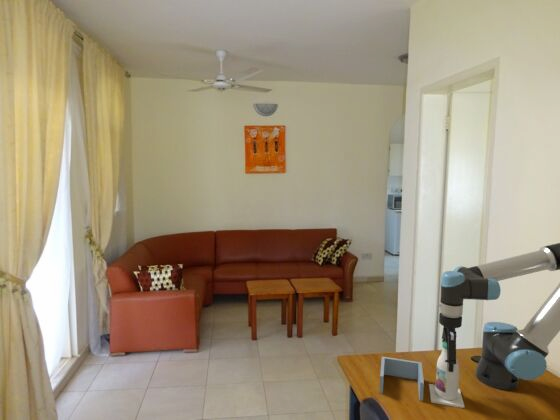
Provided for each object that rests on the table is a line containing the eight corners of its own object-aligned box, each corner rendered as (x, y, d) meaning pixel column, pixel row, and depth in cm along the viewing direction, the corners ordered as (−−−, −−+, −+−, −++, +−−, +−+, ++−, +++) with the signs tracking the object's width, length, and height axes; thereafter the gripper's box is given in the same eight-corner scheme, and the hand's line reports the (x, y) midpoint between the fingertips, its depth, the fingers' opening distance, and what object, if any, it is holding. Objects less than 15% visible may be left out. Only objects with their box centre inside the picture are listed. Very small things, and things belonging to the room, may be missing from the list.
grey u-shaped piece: (420, 378, 152) (421, 362, 152) (422, 401, 138) (423, 383, 137) (381, 372, 157) (381, 356, 156) (379, 393, 142) (380, 375, 142)
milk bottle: (454, 389, 144) (457, 339, 141) (459, 402, 136) (463, 349, 134) (433, 387, 145) (436, 337, 143) (437, 399, 138) (440, 347, 135)
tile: (459, 390, 144) (459, 388, 144) (464, 408, 134) (464, 406, 134) (428, 385, 148) (428, 383, 147) (431, 402, 137) (431, 400, 137)
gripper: (436, 301, 150) (433, 352, 152) (443, 326, 126) (439, 386, 129) (457, 303, 148) (453, 354, 150) (468, 329, 124) (464, 390, 127)
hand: (447, 369), depth 139 cm, fingers open, 13 cm apart
